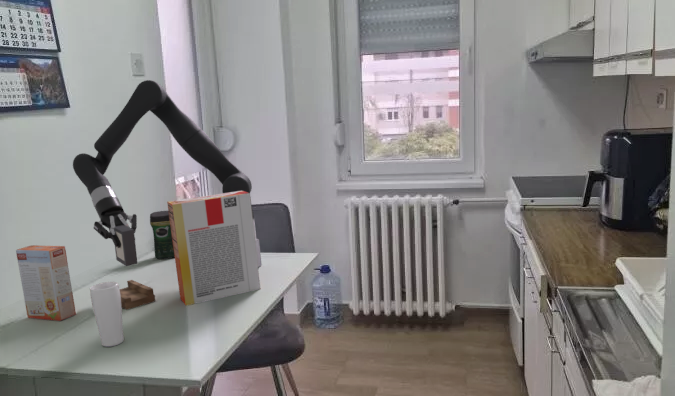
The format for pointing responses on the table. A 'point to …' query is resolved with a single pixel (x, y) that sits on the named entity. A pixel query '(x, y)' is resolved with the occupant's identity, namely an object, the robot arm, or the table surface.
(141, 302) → the wooden channel tray
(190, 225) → the pasta box
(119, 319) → the drinking glass
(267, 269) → the table surface
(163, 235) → the coffee jar
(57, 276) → the cracker box
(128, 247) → the dark grey block
